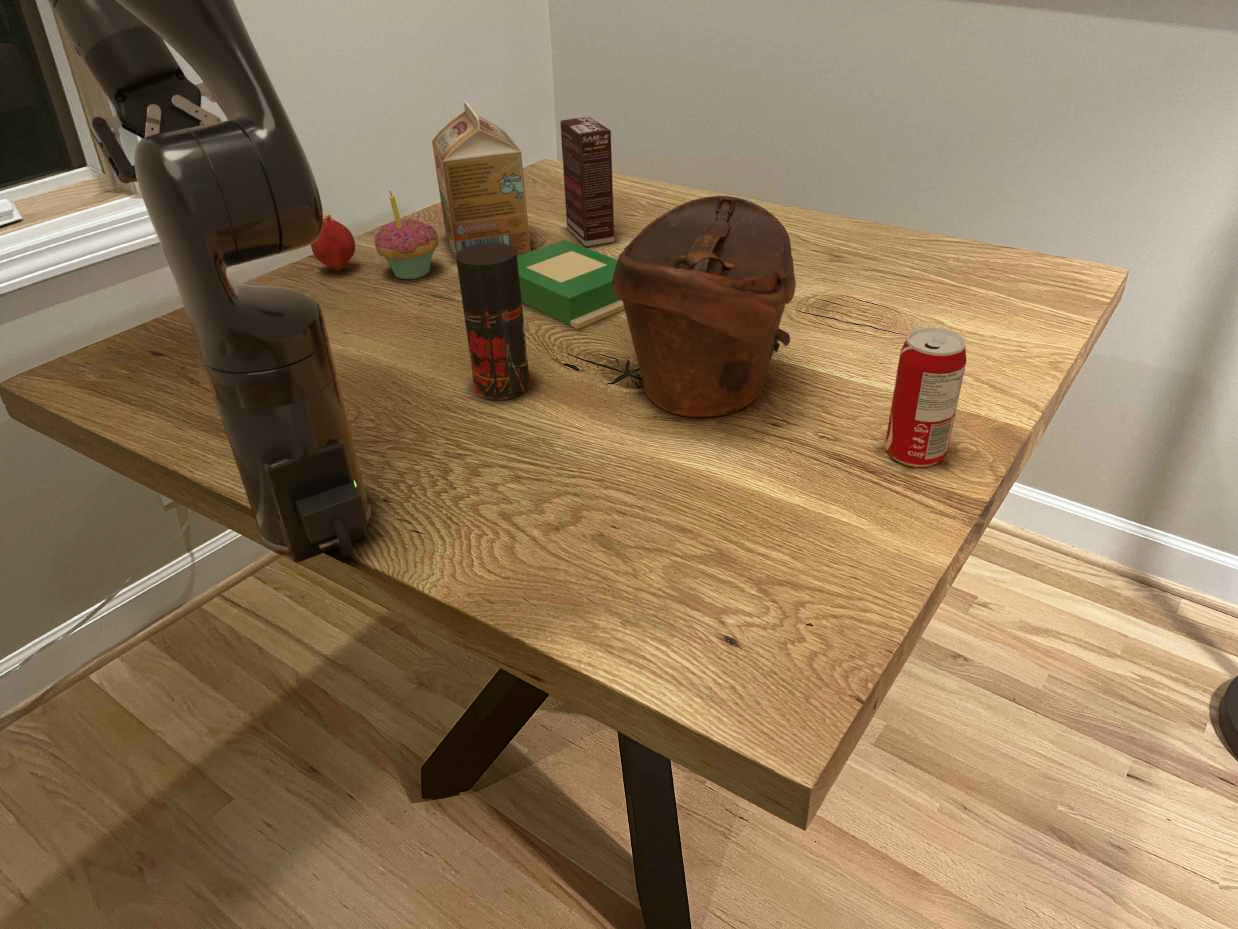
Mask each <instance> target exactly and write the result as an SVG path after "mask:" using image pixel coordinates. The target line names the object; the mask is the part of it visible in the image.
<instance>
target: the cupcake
mask: <svg viewBox="0 0 1238 929" xmlns="http://www.w3.org/2000/svg"><path fill="white" fill-rule="evenodd" d="M388 193H389V196H388V197H389V201H390V205H391V209H392V213H393V216H394V221H393V222H391V223H390V222H389V223H387V224H385V225H384V226H383V227H382V228H380V229H379V231H377V232H376V235H375V236H374V245H375V246H374V247H375V250H376V253H377V254H378V255H379V256H381V257H383V258H384V259H385V260H386V262H387V263H388V265H389V266H390V268H391V270H392V272H393V274H394V276H395V277H396V278H397V279H401V280H415V279H419V278H422V277H425V276H426V275H428V274H429V272H430V271H431V264H432V259H433V254H434V253H435V251H436V248H437V247H439V245H440V241H439V235H438V233H437V231H436V229H435V228H434V227H433V226H432V225H431V224H427V223H425V222H423V221H421V220H418V219H417V220H416V219H412V218H404V219H401V217H400V212H399V208H398V205H397V201H396V198H395V195H394V194H393V193H392V191H391V190H389V191H388Z"/></svg>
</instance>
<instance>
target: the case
mask: <svg viewBox="0 0 1238 929" xmlns="http://www.w3.org/2000/svg"><path fill="white" fill-rule="evenodd" d="M790 238H791V237H790V235H789V233H788V230H787V229H786V228H785V226H784V225H783V223H782V222H781V221H780V220H779V219H778V218H777V217H776V216H775V215H774V214H773V213H772V212H770V211H769V210H767V209H765V208H764V207H762V206H761V205H758V204H757V203H754V202H752V201H750V200H748V199H744V198H740V197H735V196H728V195H714V196H705V197H700V198H696V199H692V200H690V201H687V202H683V203H682V204H679V205H677V206H675V207H673V208H672V209H670V210H669V211H666V212H665V213H663V214H662V215H660V216H659V217H657V218H655V219H654V220H653V221H651V222H650V223H649V224H648V225H646V226H645V227H644V228H643V229H642V230H641V231H640V232H639V233H638V234H637V235H636V236H635V237H634V238H633V239H632V240H630V242H629V244H627V245H626V246H625V248H624V250H622V252H621V253H620V254H619V255H618V257H617V260H618V261H617V264H616V267H615V271H614V275H613V280H612V287H613V289H614V294H615V295H616V297H617V298H618V299H619V300H621V301H623V304H624V312H625V317H626V321H627V324H628V328H629V332H630V336H631V340H632V343H633V349H634V352H635V356H636V359H637V363H638V368H639V371H640V374H641V378H642V382H643V388H644V392H645V394H646V396H647V397H648V398H649V399H650V400H651V401H652V402H653V403H654V404H655V405H656V406H657V407H658V408H660V409H662V410H663V411H665V412H667V413H670V414H673V415H677V416H681V417H688V418H708V417H709V418H710V417H719V416H725V415H729V414H732V413H734V412H737V411H739V410H741V409H743V408H745V407H747V406H749V405H750V404H751V403H753V402H754V401H755V400H756V399H757V398H758V396H759V395H760V394H761V392H762V389H763V388H764V385H765V382H766V377H767V374H768V370H769V366H770V363H771V359H772V358H773V355H774V353H778V351H779V349H780V346H781V344H783V345H784V346H785V347H788V346H789V345H790V343H791V336H790V334H789V333H788V332H787V331H786V330H783V329H781V328H780V325H781V320H782V317H783V314H784V311H785V307H786V305H788V304H790V303H791V302H792V300H793V299H794V297H795V292H796V287H797V286H796V285H797V281H796V275H795V267H794V258H793V254H792V243H791V239H790ZM780 343H781V344H780Z"/></svg>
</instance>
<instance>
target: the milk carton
mask: <svg viewBox="0 0 1238 929" xmlns="http://www.w3.org/2000/svg"><path fill="white" fill-rule="evenodd" d="M463 108H464V111H463V112H462V113H460V114H458V116H456V117H455V118H454V119H452V120H451V121H450V122H448V123H447V124H446V125H445V126H444V127H443V128H442V129H441V130H439V131H438V133H437V134H436V135H435V136H434V138H433V139H432V140H431V144H432V145H431V146H432V151H433V157H434V164H435V171H436V172H435V173H436V178H437V185H438V192H439V199H440V205H441V212H442V218H443V226H444V232H445V238H446V241H447V243H448V245H449V248H450V250H451V253H452V254H453V256H454V259H455V260H456V254H457V253H458V252H459V251H460V250H461V249H463V248H465V247H468V246H471V245H475V244H480V243H492V242H493V243H504V244H508V245H511V246H513V247H514V248H515V249H516V251H517V255H522V254H525V253H528V252H531V251H532V250H531V239H530V230H529V228H530V227H529V220H528V218H529V217H528V208H527V198H526V185H525V175H524V166H523V164H524V163H523V154H522V151H521V149H520V148H519V147H518V146H517V145H516V144H515V142H514V141H513V140H512V139H511V138H510V136H509V135H508V134H507V132H506V131H504V130H503V129H502V128H500V127H499V126H498V125H497V124H495V123H493V122H491V121H490V120H488V119H486V118H484V117H482V116H480V115H477V113H476V112H475V111H474V109H473V108H472V107H471V105H470V104H469V103H468V102H467V100H464V101H463Z"/></svg>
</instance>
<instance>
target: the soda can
mask: <svg viewBox="0 0 1238 929" xmlns="http://www.w3.org/2000/svg"><path fill="white" fill-rule="evenodd" d="M966 348H967V343H966V339H965V338H964V337H963V336H962V335H961V334H959V333H958V332H956V331H953V330H952V329H947V328H944V327H938V326H937V327H935V326H926V327H920V328H915V329H913V330H911V331H910V332H908V333H907V334H906V337H905V340H904V343H903V345H902V347H901V349H900V352H899V358H898V363H897V369H896V376H895V382H894V387H893V394H892V400H891V406H890V412H889V419H888V425H887V431H886V436H885V443H884V446H885V450H886V452H887V453H888V454H889V455H890V456H891V458H892V459H893V460H894V461H896V462H898V463H900V464H902V465H905V466H909V467H914V468H928V467H931V466H933V465H937V464H938V463H939V462H941V461H943V460H944V458H946V456H947V455H948V450H949V446H950V442H951V437H952V432H953V426H954V422H955V417H956V412H957V409H958V408H957V407H958V402H959V399H960V394H961V388H962V384H963V380H964V375H965V370H966V365H967V350H966Z"/></svg>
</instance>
